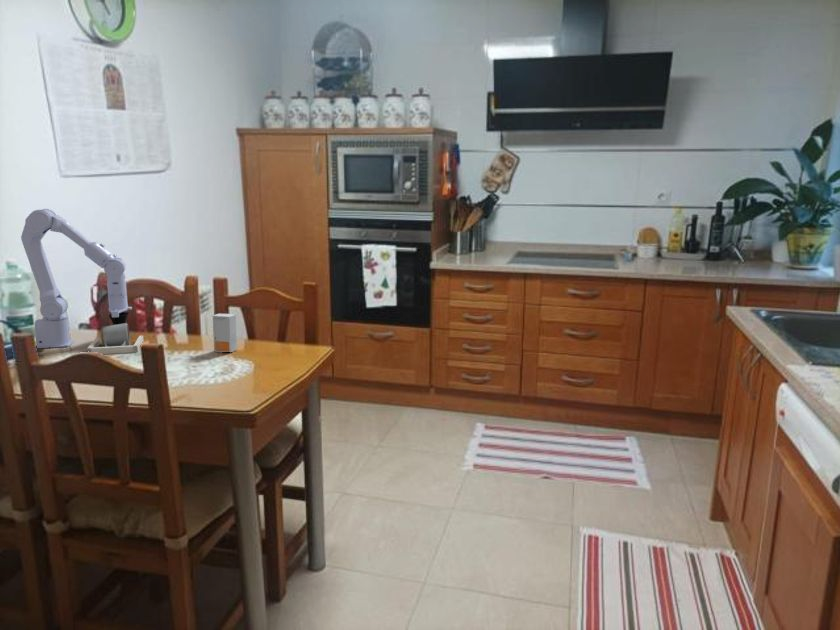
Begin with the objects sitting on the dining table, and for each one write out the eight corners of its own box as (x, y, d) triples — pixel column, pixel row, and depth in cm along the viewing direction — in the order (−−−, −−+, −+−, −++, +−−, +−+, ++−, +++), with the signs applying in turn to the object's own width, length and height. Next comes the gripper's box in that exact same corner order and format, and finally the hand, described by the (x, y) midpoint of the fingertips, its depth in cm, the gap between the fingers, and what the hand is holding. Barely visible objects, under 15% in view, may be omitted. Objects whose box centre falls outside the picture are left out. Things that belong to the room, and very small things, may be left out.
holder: (87, 354, 196) (86, 348, 195) (96, 343, 210) (96, 337, 210) (137, 352, 200) (137, 345, 199) (143, 341, 214) (143, 335, 214)
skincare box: (213, 352, 201) (211, 315, 198) (220, 349, 205) (219, 313, 202) (230, 353, 199) (229, 316, 197) (237, 350, 203) (236, 314, 201)
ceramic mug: (103, 345, 208) (101, 322, 206) (130, 343, 211) (128, 321, 209) (101, 353, 198) (98, 330, 197) (129, 351, 201) (127, 328, 200)
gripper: (127, 297, 205) (130, 338, 207) (133, 290, 218) (136, 329, 221) (103, 298, 203) (106, 339, 205) (111, 291, 216) (114, 330, 219)
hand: (120, 334), depth 213 cm, fingers closed
